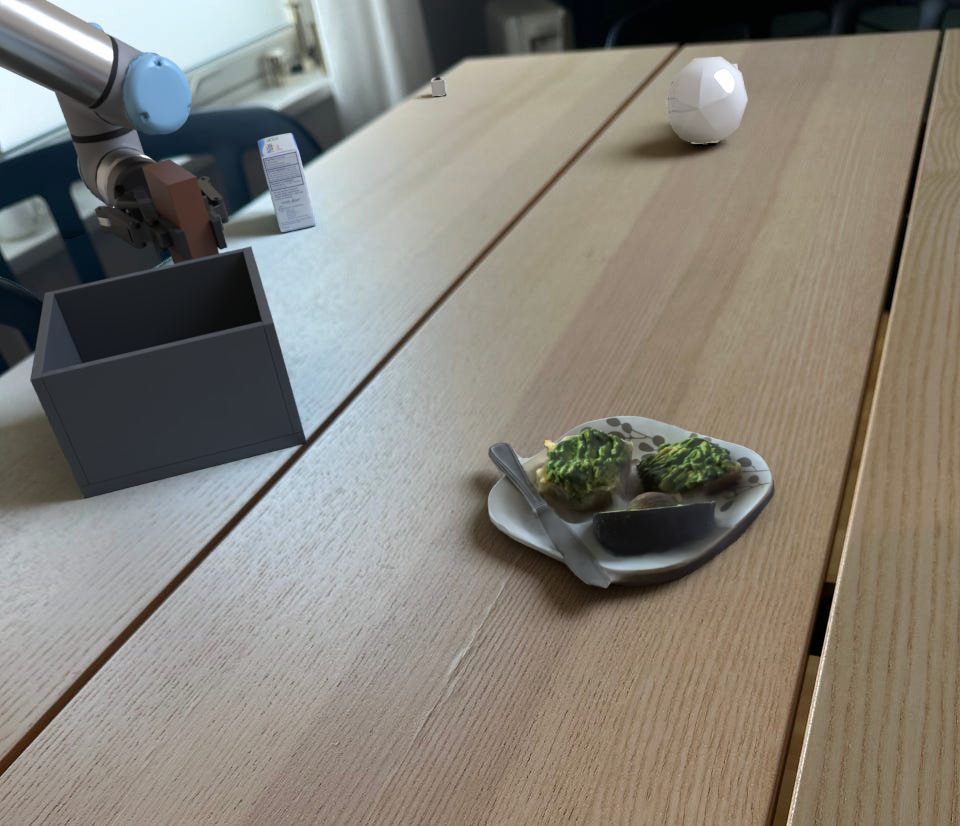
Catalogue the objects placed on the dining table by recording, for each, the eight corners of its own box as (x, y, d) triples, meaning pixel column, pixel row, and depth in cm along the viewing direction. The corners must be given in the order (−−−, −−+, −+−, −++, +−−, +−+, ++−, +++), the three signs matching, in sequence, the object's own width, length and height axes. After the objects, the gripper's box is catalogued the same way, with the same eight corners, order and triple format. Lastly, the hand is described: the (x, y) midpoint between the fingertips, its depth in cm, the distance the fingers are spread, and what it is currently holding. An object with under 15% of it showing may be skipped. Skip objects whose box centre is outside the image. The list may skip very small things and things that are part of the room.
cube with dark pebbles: (446, 95, 158) (443, 78, 157) (432, 97, 159) (430, 80, 157) (447, 92, 160) (445, 74, 158) (434, 94, 160) (431, 76, 159)
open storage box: (83, 498, 78) (29, 379, 72) (89, 400, 91) (44, 292, 85) (306, 442, 80) (273, 322, 74) (281, 354, 93) (251, 246, 87)
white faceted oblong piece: (686, 170, 121) (708, 146, 133) (757, 114, 116) (774, 94, 127) (641, 102, 119) (668, 84, 130) (711, 41, 113) (733, 28, 124)
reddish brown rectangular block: (205, 305, 105) (167, 185, 97) (179, 281, 111) (141, 166, 104) (232, 296, 106) (196, 176, 98) (205, 273, 112) (169, 158, 104)
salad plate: (413, 521, 70) (401, 463, 67) (582, 410, 78) (578, 355, 75) (635, 630, 58) (633, 567, 55) (805, 487, 67) (811, 425, 64)
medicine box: (317, 226, 119) (299, 148, 114) (280, 234, 119) (260, 156, 113) (310, 206, 125) (293, 131, 120) (275, 214, 125) (255, 138, 119)
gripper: (214, 204, 122) (286, 254, 106) (83, 244, 117) (138, 302, 101) (194, 137, 117) (267, 178, 101) (57, 175, 112) (110, 225, 96)
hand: (202, 240), depth 101 cm, fingers closed on reddish brown rectangular block, 3 cm apart
